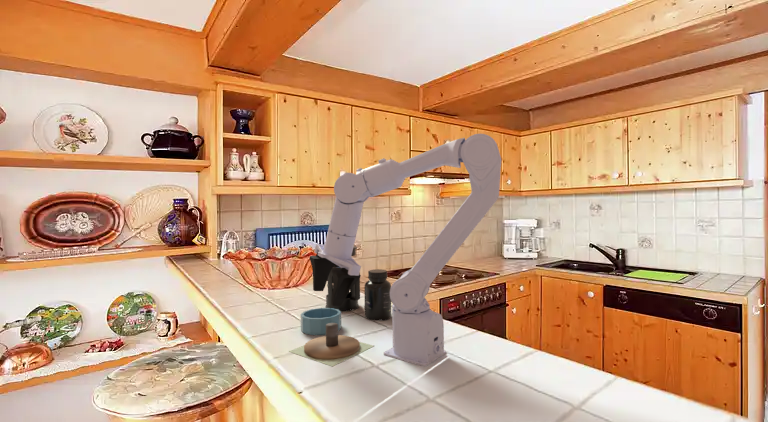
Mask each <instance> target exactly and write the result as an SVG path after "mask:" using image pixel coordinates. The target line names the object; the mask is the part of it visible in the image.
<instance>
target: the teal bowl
mask: <svg viewBox="0 0 768 422" xmlns="http://www.w3.org/2000/svg"><path fill="white" fill-rule="evenodd" d="M328 323H337V324H338V332H339V331H340V330H341V329H342V312H341V311H339V310H338V309H334V308H325V307H319V308H318V307H317V308H316V307H315V308H311V309H310V308H309V309H307V310H305V311H303V312H301V313H300V330H301V332H302V333H303V334H306V335H307V336H308V335H310V336H326V324H328Z"/></svg>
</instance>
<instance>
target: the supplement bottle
mask: <svg viewBox="0 0 768 422" xmlns="http://www.w3.org/2000/svg"><path fill="white" fill-rule="evenodd" d="M367 279H368V280H367V281H366V282H365V283H364V317H365V319H366V320H369V321H370V320H371V321H387V320H389V319H391V317H392V301H391V299H390V289H391V286H392V284H391V282H390V281H389V280H387V279H388V271H387V270H386V269H377V268H376V269H369V270H368V274H367Z"/></svg>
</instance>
